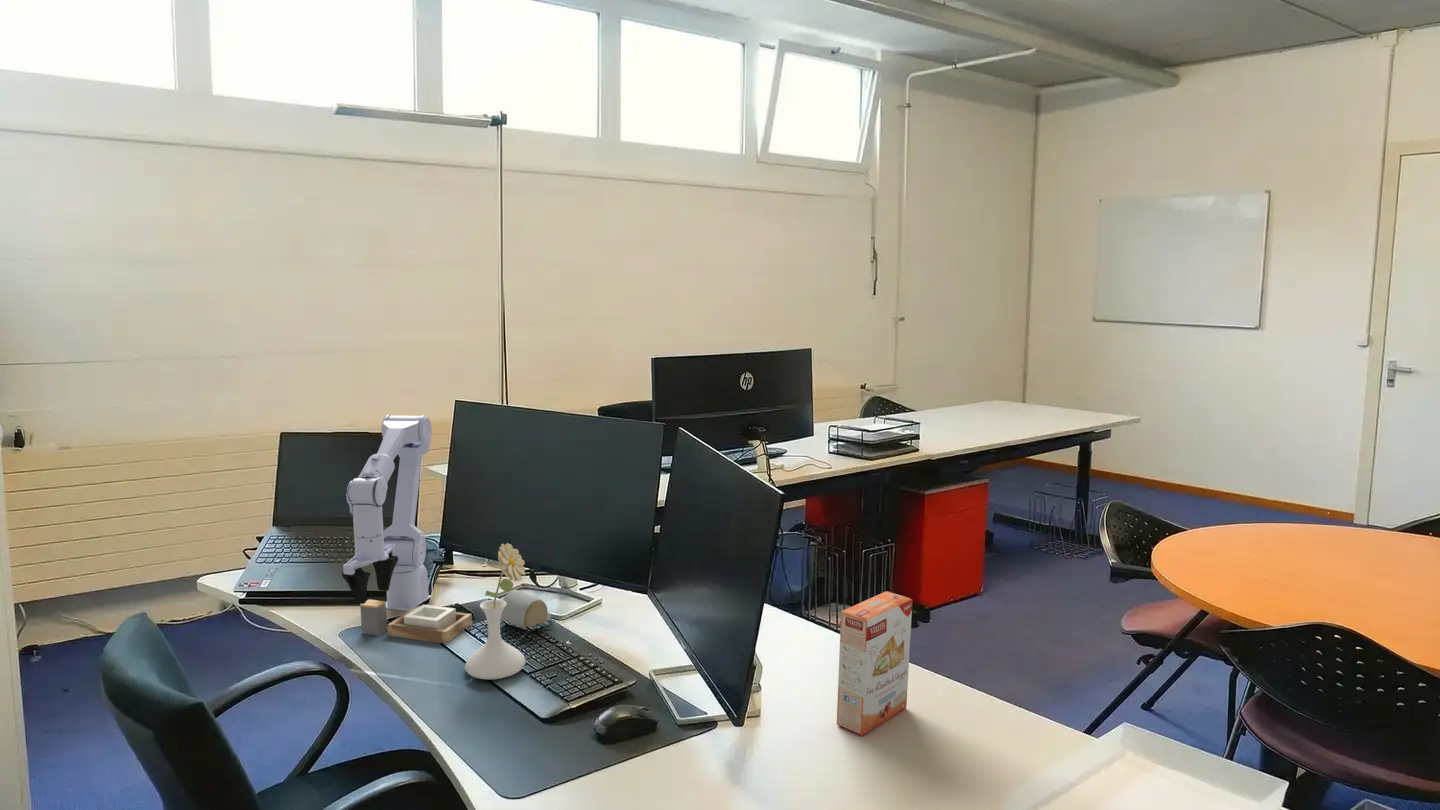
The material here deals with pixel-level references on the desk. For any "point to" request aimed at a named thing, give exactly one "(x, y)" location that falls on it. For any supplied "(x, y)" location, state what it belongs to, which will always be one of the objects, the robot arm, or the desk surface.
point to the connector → (373, 617)
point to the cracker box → (873, 661)
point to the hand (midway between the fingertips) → (372, 596)
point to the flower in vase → (498, 626)
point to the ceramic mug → (524, 609)
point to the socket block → (431, 617)
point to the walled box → (429, 629)
